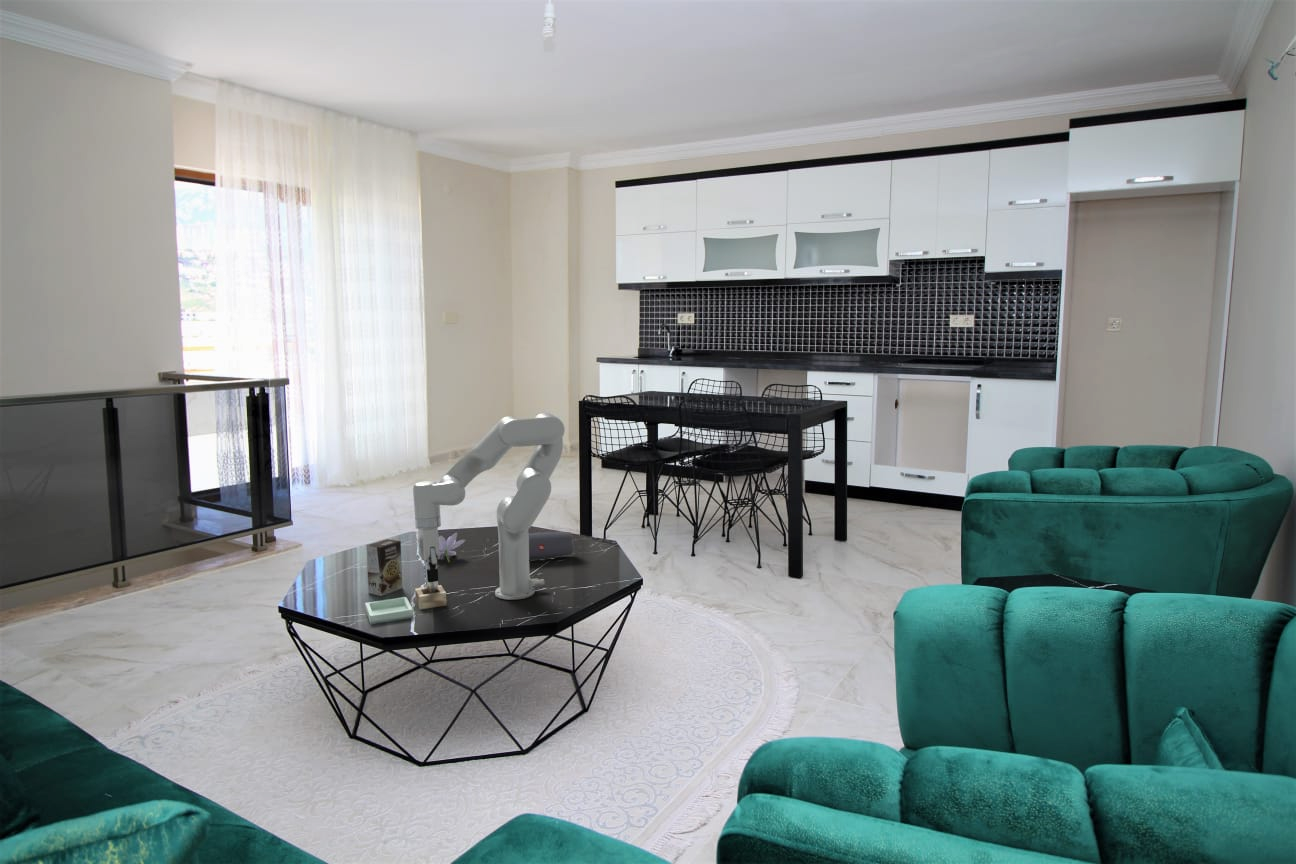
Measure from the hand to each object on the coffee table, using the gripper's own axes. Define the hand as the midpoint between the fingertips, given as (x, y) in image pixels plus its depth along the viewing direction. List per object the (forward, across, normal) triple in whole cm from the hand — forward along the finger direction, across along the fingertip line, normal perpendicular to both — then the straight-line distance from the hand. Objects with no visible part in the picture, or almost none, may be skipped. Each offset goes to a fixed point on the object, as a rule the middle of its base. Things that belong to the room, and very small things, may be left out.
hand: (431, 578), depth 244 cm
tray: (+8, +4, -14) cm, 16 cm away
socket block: (+8, 0, -1) cm, 8 cm away
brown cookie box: (+8, -18, -12) cm, 23 cm away
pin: (+6, 0, 0) cm, 6 cm away
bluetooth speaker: (+9, -29, +44) cm, 54 cm away
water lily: (+8, -45, +13) cm, 47 cm away
